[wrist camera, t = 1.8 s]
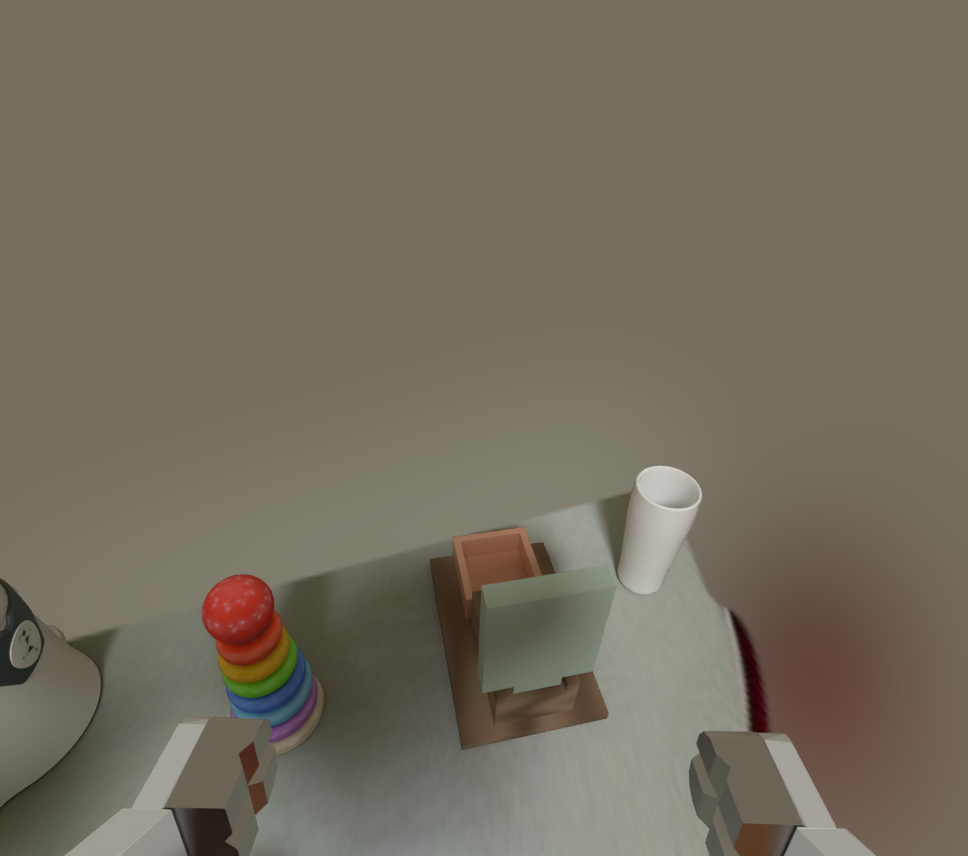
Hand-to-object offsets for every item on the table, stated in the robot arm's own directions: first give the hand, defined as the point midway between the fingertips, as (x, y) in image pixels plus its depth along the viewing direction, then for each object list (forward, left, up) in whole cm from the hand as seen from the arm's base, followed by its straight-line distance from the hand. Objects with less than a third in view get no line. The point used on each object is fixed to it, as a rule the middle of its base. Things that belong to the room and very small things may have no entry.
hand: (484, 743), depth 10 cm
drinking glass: (+27, +31, -43) cm, 59 cm away
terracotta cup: (+10, +33, -42) cm, 55 cm away
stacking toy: (-13, +23, -43) cm, 50 cm away
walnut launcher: (+10, +27, -42) cm, 51 cm away
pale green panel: (+10, +19, -37) cm, 43 cm away
